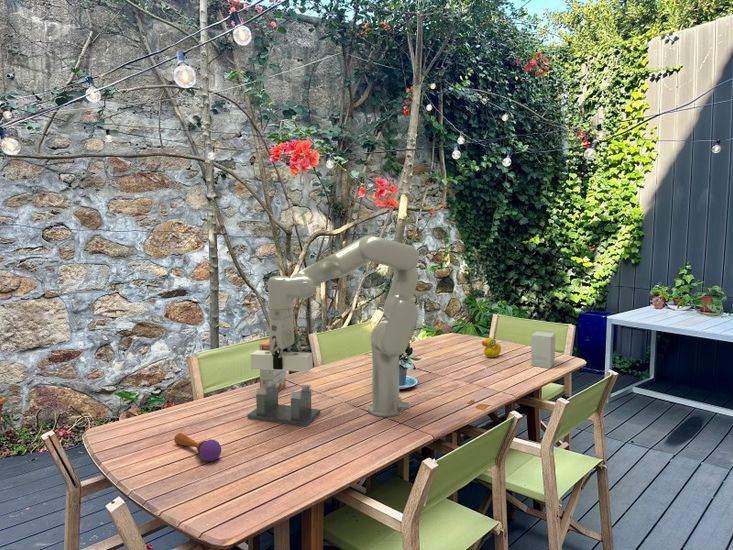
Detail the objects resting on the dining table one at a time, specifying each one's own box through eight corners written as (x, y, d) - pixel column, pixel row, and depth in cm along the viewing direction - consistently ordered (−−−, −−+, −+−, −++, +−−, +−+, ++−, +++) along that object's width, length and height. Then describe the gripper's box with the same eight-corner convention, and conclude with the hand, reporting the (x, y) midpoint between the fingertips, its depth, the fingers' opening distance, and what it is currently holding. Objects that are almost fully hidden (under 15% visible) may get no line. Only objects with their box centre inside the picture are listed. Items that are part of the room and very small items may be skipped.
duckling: (485, 360, 251) (486, 340, 250) (478, 357, 256) (478, 337, 255) (503, 357, 257) (504, 337, 255) (495, 354, 261) (496, 335, 260)
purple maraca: (188, 427, 162) (226, 440, 149) (187, 447, 162) (224, 461, 149) (171, 429, 158) (208, 443, 145) (169, 449, 157) (206, 465, 144)
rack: (320, 413, 183) (320, 384, 182) (306, 426, 172) (305, 396, 171) (264, 406, 190) (264, 378, 189) (247, 418, 179) (246, 389, 178)
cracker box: (274, 397, 199) (273, 344, 197) (259, 396, 201) (258, 343, 198) (286, 386, 213) (286, 336, 211) (273, 385, 214) (272, 335, 212)
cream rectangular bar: (312, 367, 175) (312, 352, 174) (307, 371, 170) (307, 356, 170) (257, 364, 179) (256, 349, 179) (251, 368, 174) (250, 353, 174)
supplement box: (554, 364, 245) (556, 333, 243) (550, 368, 237) (551, 336, 235) (535, 361, 250) (536, 330, 248) (530, 365, 242) (531, 334, 240)
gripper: (279, 318, 163) (280, 375, 165) (301, 309, 180) (302, 360, 182) (257, 317, 166) (259, 373, 168) (281, 308, 182) (283, 359, 184)
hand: (281, 366), depth 175 cm, fingers closed on cream rectangular bar, 5 cm apart
